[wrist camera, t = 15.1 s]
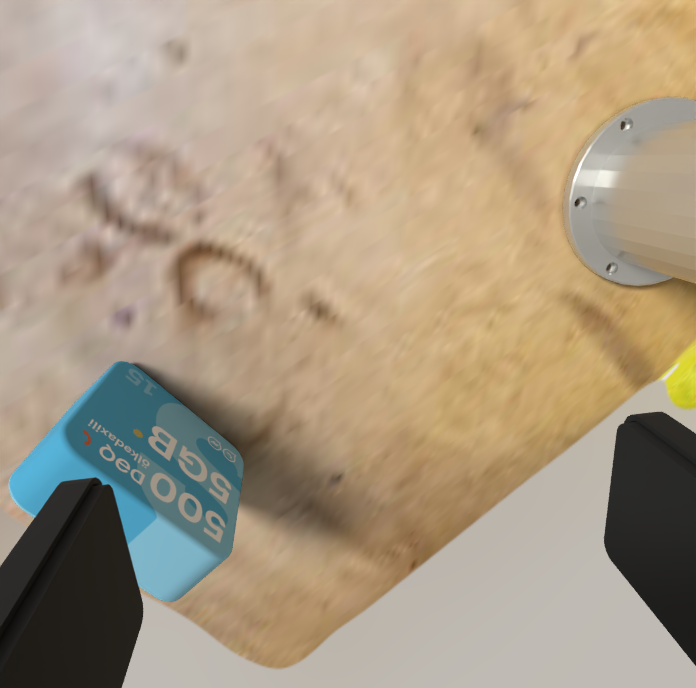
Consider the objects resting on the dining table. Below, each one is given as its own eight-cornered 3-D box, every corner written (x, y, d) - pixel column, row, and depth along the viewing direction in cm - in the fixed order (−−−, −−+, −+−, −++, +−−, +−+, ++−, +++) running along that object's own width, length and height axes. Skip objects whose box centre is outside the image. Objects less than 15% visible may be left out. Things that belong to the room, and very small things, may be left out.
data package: (247, 455, 41) (231, 567, 30) (207, 491, 42) (177, 614, 30) (123, 353, 37) (51, 437, 26) (81, 394, 38) (-7, 494, 27)
